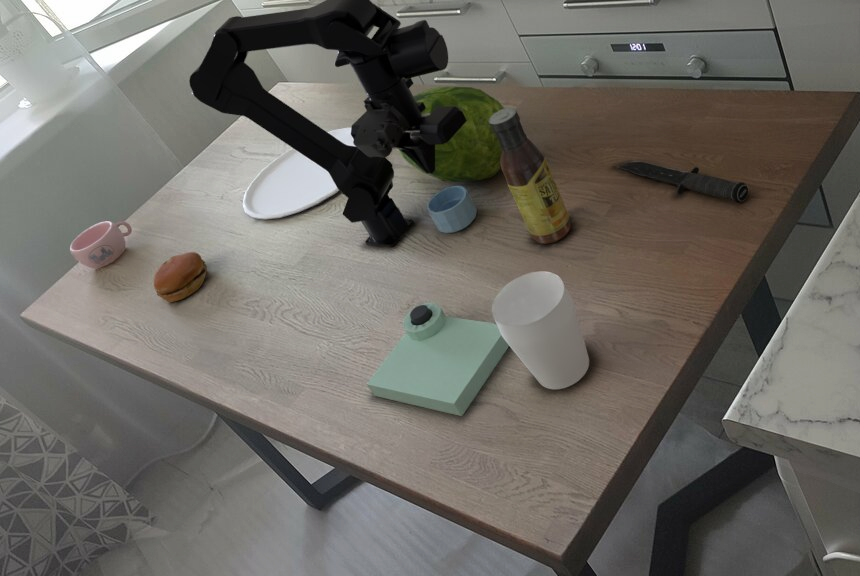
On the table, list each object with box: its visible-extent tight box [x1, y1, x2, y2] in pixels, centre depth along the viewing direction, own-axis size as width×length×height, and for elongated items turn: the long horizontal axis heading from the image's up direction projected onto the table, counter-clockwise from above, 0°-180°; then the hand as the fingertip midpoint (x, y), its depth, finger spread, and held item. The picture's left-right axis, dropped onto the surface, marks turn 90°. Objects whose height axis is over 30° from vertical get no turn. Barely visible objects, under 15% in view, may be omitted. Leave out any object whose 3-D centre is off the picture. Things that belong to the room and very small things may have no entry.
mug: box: [69, 220, 133, 269], centre depth 171 cm, size 12×10×6 cm
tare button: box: [410, 304, 432, 326], centre depth 112 cm, size 3×3×1 cm
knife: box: [616, 160, 750, 204], centre depth 121 cm, size 24×5×3 cm, turn 35°
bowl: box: [426, 185, 478, 234], centre depth 133 cm, size 7×7×4 cm
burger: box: [153, 251, 208, 303], centre depth 150 cm, size 10×9×5 cm
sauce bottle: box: [489, 107, 572, 245], centre depth 117 cm, size 7×6×20 cm
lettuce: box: [395, 86, 505, 183], centre depth 142 cm, size 15×27×16 cm, turn 52°
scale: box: [366, 301, 510, 417], centre depth 109 cm, size 15×14×4 cm
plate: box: [242, 126, 355, 220], centre depth 167 cm, size 29×29×1 cm
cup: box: [490, 270, 590, 390], centre depth 98 cm, size 9×9×12 cm
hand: (431, 172), depth 128 cm, fingers closed
